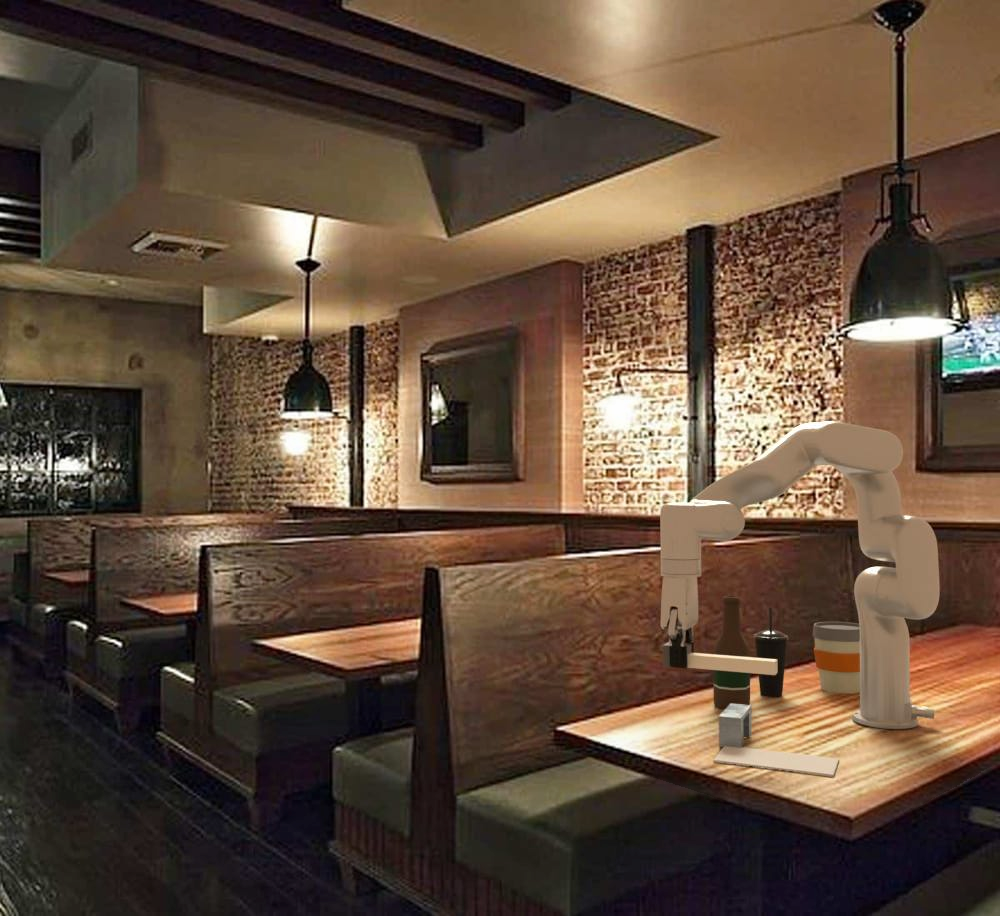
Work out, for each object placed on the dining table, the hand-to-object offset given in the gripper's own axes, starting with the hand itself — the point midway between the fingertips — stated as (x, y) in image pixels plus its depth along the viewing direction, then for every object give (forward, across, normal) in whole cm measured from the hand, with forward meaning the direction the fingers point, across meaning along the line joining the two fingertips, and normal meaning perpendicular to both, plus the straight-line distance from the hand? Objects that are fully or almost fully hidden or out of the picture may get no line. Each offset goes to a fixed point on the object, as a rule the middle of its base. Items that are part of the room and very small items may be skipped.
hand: (681, 664), depth 181 cm
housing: (+15, -6, +9) cm, 18 cm away
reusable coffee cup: (+15, -61, +21) cm, 66 cm away
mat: (+15, +4, +18) cm, 24 cm away
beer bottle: (+15, -32, +2) cm, 36 cm away
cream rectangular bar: (0, 0, +7) cm, 7 cm away
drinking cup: (+15, -48, +7) cm, 51 cm away
